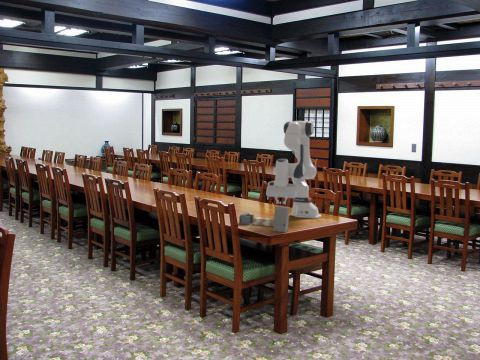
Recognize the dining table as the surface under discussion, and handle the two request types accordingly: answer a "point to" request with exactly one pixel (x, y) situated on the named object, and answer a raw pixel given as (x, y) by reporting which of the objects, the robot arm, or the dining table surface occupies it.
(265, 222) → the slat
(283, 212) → the skincare box
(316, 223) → the dining table surface
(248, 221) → the end cap
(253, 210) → the dining table surface
